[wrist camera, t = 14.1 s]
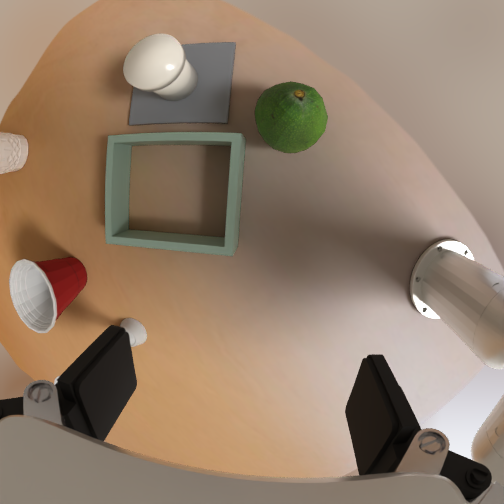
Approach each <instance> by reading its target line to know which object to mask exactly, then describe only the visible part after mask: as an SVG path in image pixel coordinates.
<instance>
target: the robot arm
mask: <svg viewBox="0 0 504 504" xmlns="http://www.w3.org/2000/svg"><path fill="white" fill-rule="evenodd" d="M410 295H411V299H412V302H413V304H414V306H415V307H416V309H417V310H418V311H419V312H420V313H421V314H422V315H424V316H426V317H428V318H432V319H438V318H441V319H442V320H443V321H444V322H445V323H446V324H447V325H448V326H449V327H450V329H451V330H452V331H453V332H454V333H455V334H456V335H457V336H458V337H459V338H460V339H461V340H462V341H463V342H464V343H465V344H466V345H467V346H468V347H469V348H470V350H472V352H473V353H474V354H475V355H476V356H477V357H478V358H479V359H480V360H481V361H482V362H483V363H484V364H485V365H487V366H488V367H491V368H493V369H504V276H502V275H500V274H498V273H496V272H495V271H493V270H491V269H489V268H487V267H485V266H483V265H482V264H480V263H478V262H476V261H474V259H473V256H472V254H471V252H470V250H469V249H468V248H467V247H466V246H465V245H464V244H462V243H461V242H459V241H456V240H451V239H446V240H441V241H438V242H436V243H435V244H433V245H431V246H430V247H429V248H428V249H427V250H425V252H424V253H423V254H422V255H421V256H420V258H419V260H418V261H417V263H416V265H415V267H414V270H413V272H412V276H411V281H410ZM57 381H58V382H57V383H56V384H55V385H54V384H53V383H51V382H50V381H46V380H38V381H34V382H32V383H30V384H29V385H28V386H27V387H26V388H25V390H24V395H23V397H18V398H11V399H5V400H0V504H504V395H503V396H502V398H501V399H500V401H499V402H498V404H497V405H496V406H495V408H494V409H493V411H492V412H491V413H490V415H489V416H488V418H487V419H486V420H485V422H484V423H483V424H482V426H481V427H480V429H479V430H478V432H477V433H476V435H475V437H474V440H473V442H472V447H471V455H472V460H471V459H468V458H466V457H463V456H461V455H458V454H456V453H454V452H452V451H449V440H448V438H447V437H446V436H445V435H444V434H443V433H442V432H440V431H439V430H436V429H432V428H430V429H429V428H426V429H423V430H421V428H420V426H419V423H418V421H417V419H416V417H415V415H414V413H413V411H412V409H411V407H410V405H409V403H408V401H407V399H406V396H405V394H404V392H403V390H402V389H401V387H400V386H399V385H398V383H397V381H396V379H395V377H394V375H393V373H392V371H391V369H390V367H389V365H388V363H387V362H386V360H385V358H384V356H383V355H368V356H367V358H364V359H363V360H362V363H361V366H360V369H359V372H358V375H357V378H356V381H355V383H354V386H353V389H352V392H351V395H350V397H349V400H348V402H347V405H346V410H345V413H346V418H347V422H348V426H349V431H350V435H351V439H352V444H353V448H354V453H355V457H356V462H357V467H358V471H359V476H347V477H324V478H285V477H266V476H254V475H243V474H235V473H227V472H220V471H214V470H207V469H202V468H196V467H191V466H186V465H182V464H177V463H173V462H169V461H165V460H161V459H157V458H153V457H150V456H146V455H143V454H139V453H136V452H133V451H130V450H126V449H123V448H120V447H118V446H115V445H112V444H109V443H106V442H103V441H104V440H105V438H106V437H107V435H108V433H109V432H110V430H111V428H112V427H113V425H114V423H115V422H116V420H117V418H118V417H119V415H120V413H121V412H122V410H123V409H124V407H125V405H126V404H127V402H128V400H129V399H130V397H131V395H132V394H133V392H134V391H135V389H136V386H137V380H136V374H135V369H134V363H133V357H132V351H131V344H130V337H129V333H128V332H126V330H125V328H123V327H119V326H114V325H111V326H109V327H108V328H107V329H106V330H105V331H104V332H103V333H102V334H101V335H100V336H99V337H98V338H97V339H96V340H95V341H94V342H93V343H92V344H91V345H90V346H89V347H88V348H87V349H86V350H85V351H84V352H83V353H82V354H81V355H80V356H79V357H78V358H77V359H76V360H75V361H74V362H73V363H72V364H71V365H70V366H69V367H68V368H67V370H66V371H65V372H64V373H63V374H62V375H61V376H60V377H59V378H58V379H57Z"/></svg>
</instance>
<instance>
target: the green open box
mask: <svg viewBox="0 0 504 504" xmlns="http://www.w3.org/2000/svg"><path fill="white" fill-rule="evenodd" d="M245 144H246V139H245V137H244V136H243V135H242V133H220V132H162V133H139V134H124V135H111V136H108V145H107V159H106V179H105V235H106V244H116V245H125V246H135V247H145V248H155V249H165V250H175V251H185V252H195V253H205V254H215V255H225V256H233V254H234V253H235V251H236V249H237V247H238V238H239V224H240V209H241V196H242V182H243V169H244V157H245ZM139 145H220V146H231V157H230V170H229V183H228V198H227V213H226V229H225V237H214V236H202V235H191V234H179V233H167V232H155V231H143V230H130V229H129V188H130V165H131V150H132V146H139Z"/></svg>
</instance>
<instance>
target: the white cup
mask: <svg viewBox="0 0 504 504" xmlns="http://www.w3.org/2000/svg"><path fill="white" fill-rule="evenodd" d="M27 156H28V142H27V139H26V138H25V137H24V136H23V135H15V134H12V133H4V132H0V174H3V173H7V172H12V171H18V170H20V169H21V168H22V167H23V166H24V164H25V162H26V160H27Z"/></svg>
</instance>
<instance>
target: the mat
mask: <svg viewBox="0 0 504 504" xmlns="http://www.w3.org/2000/svg"><path fill="white" fill-rule="evenodd" d="M181 46H182V47H183V49H184V51H185V55H186V59H187V61H188V62H189V63H190V64H191V65H192V66H193V68H194V69H195V70H196V72H197V74H198V83H197V86H196V88H195V89H194V91H193V92H192V93H191V94H190V95H189V96H188V97H186V98H185V99H182V100H179V101H168V100H166V99H164V98H162V97H161V96H159V95H158V94H156V93H154V92H153V91H152V92H147V91H142V90H140V89H138V88H136V87H134V88H133V95H132V102H131V110H130V118H129V125H146V124H167V123H228V115H229V104H230V94H231V84H232V74H233V65H234V56H235V47H236V43H235V42H222V43H198V44H185V45H181Z"/></svg>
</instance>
